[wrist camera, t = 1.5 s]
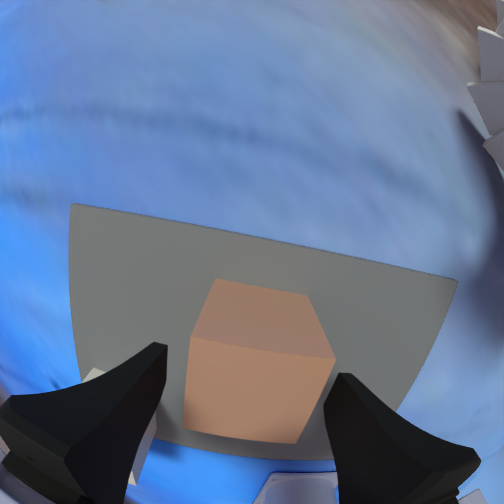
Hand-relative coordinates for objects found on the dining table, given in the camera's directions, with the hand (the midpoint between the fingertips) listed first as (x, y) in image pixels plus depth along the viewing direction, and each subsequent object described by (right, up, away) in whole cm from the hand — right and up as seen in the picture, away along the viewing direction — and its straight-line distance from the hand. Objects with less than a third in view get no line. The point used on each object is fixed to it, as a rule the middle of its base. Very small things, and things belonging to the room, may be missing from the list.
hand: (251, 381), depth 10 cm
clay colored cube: (0, +1, +5) cm, 5 cm away
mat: (0, -3, +6) cm, 7 cm away
